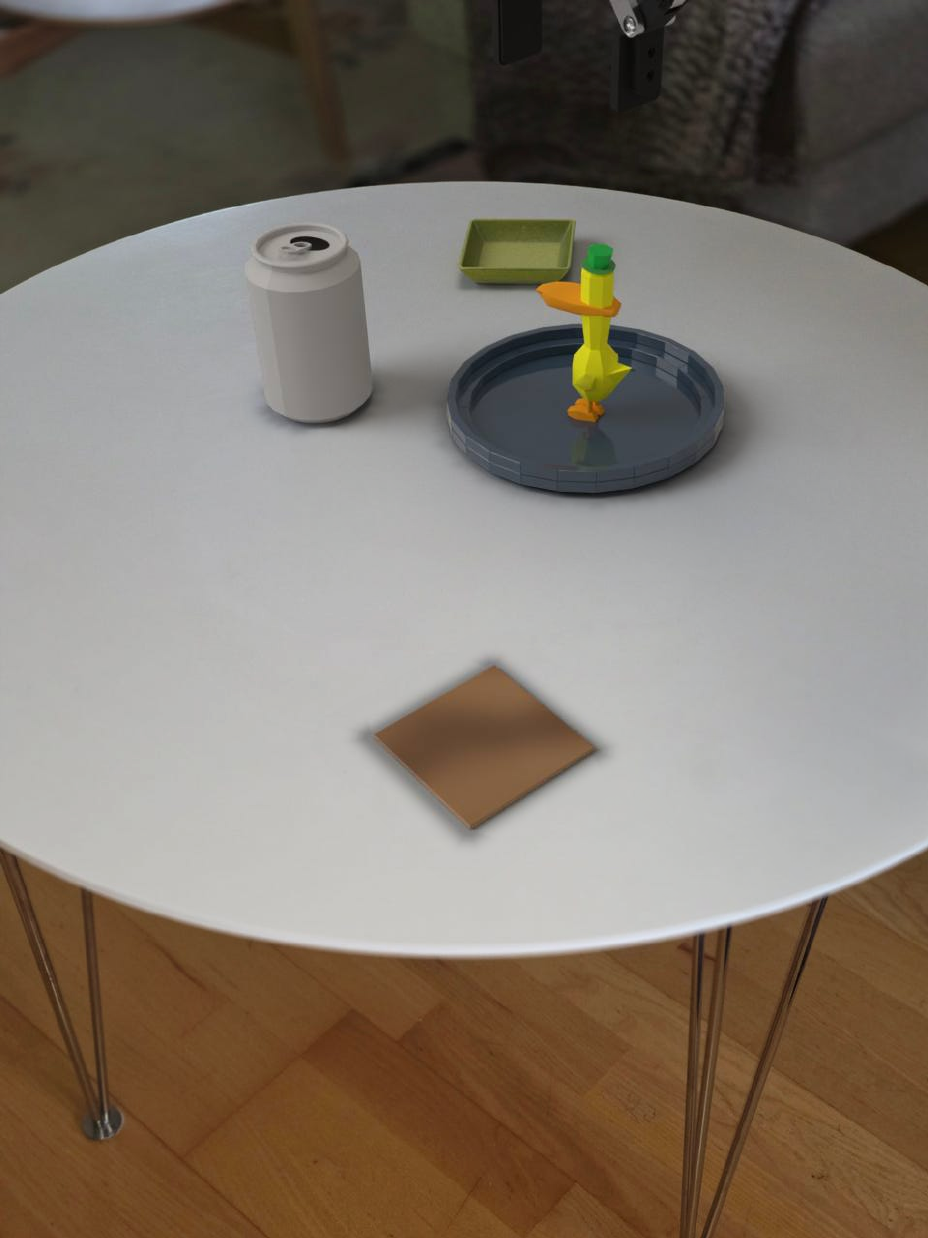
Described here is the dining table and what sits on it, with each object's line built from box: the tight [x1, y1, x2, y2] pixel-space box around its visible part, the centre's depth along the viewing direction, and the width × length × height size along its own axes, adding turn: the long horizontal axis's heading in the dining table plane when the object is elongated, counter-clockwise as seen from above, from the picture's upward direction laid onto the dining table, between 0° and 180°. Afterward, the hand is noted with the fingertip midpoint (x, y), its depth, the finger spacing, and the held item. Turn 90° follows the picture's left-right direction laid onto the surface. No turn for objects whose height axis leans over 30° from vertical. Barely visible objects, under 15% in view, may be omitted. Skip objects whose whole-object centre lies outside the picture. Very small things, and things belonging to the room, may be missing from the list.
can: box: [243, 221, 374, 424], centre depth 91 cm, size 8×8×12 cm
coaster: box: [373, 664, 595, 831], centre depth 69 cm, size 8×8×1 cm
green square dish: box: [457, 217, 577, 285], centre depth 108 cm, size 9×9×2 cm
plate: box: [445, 323, 726, 494], centre depth 91 cm, size 18×18×2 cm
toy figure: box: [535, 242, 632, 422], centre depth 87 cm, size 7×4×12 cm, turn 59°
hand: (574, 80), depth 76 cm, fingers open, 9 cm apart
